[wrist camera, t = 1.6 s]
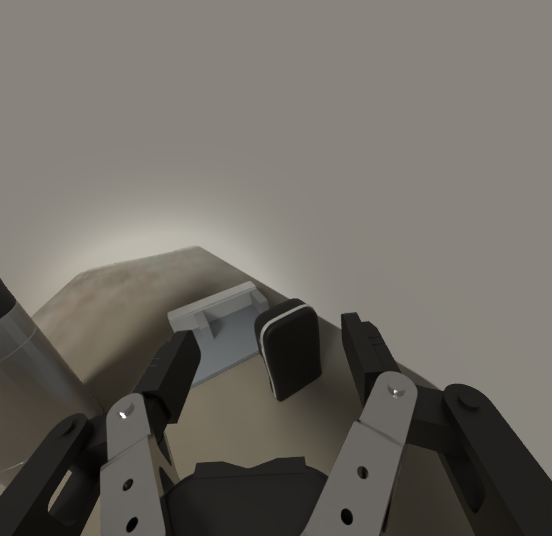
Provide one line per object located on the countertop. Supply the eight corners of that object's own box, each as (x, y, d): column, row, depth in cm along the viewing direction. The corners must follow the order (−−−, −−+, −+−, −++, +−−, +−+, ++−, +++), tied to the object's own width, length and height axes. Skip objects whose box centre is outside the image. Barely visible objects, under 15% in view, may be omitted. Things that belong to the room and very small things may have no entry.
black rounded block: (306, 356, 33) (298, 289, 28) (324, 375, 30) (318, 303, 25) (263, 382, 31) (245, 313, 25) (278, 406, 27) (261, 332, 22)
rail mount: (188, 390, 31) (177, 369, 29) (174, 329, 43) (167, 312, 41) (289, 337, 37) (286, 317, 35) (253, 296, 49) (249, 280, 47)
